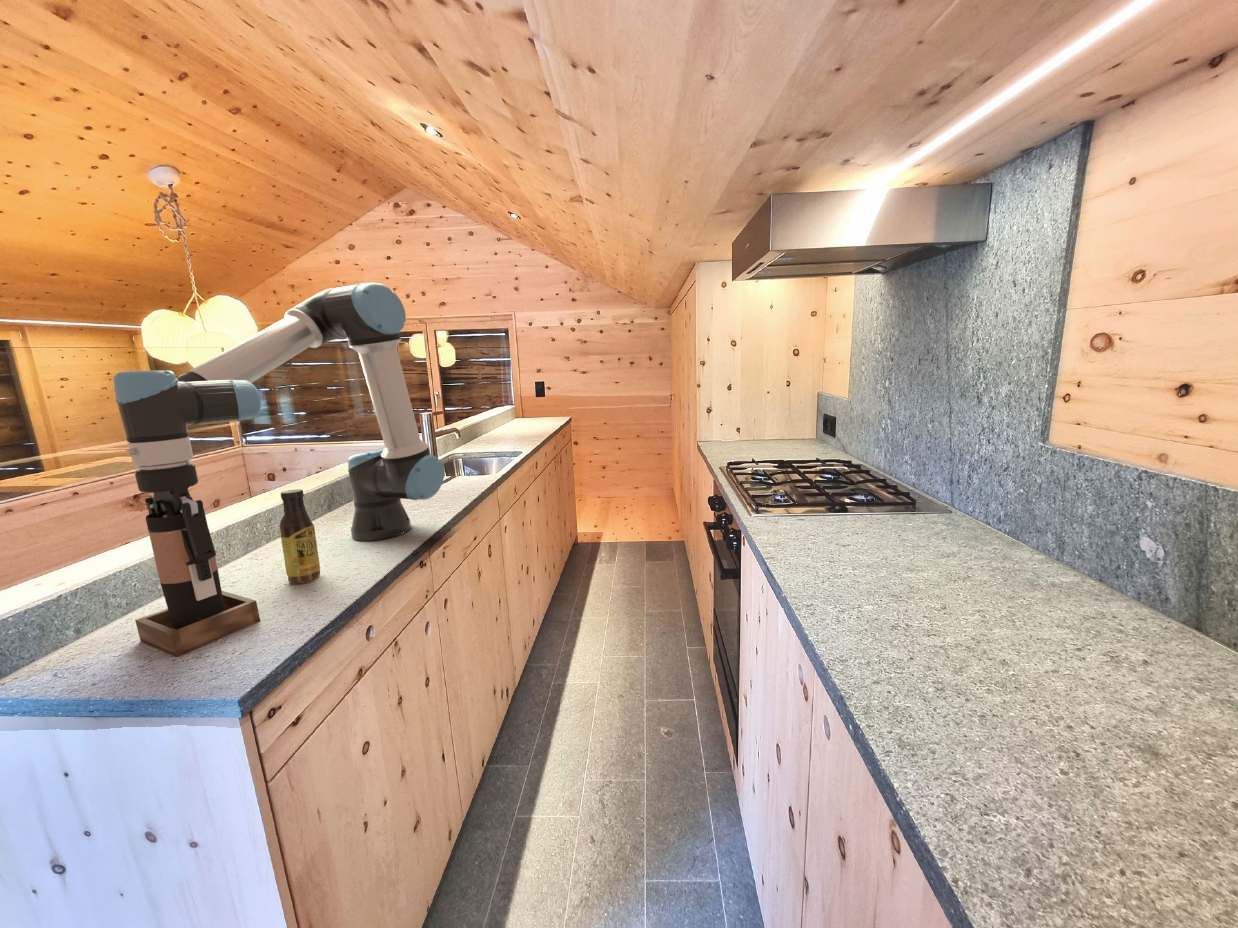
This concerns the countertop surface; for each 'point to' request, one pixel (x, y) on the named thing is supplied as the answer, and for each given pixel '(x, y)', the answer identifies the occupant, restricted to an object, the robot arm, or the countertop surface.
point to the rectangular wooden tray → (197, 626)
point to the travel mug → (180, 573)
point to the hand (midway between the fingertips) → (194, 592)
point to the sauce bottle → (298, 539)
